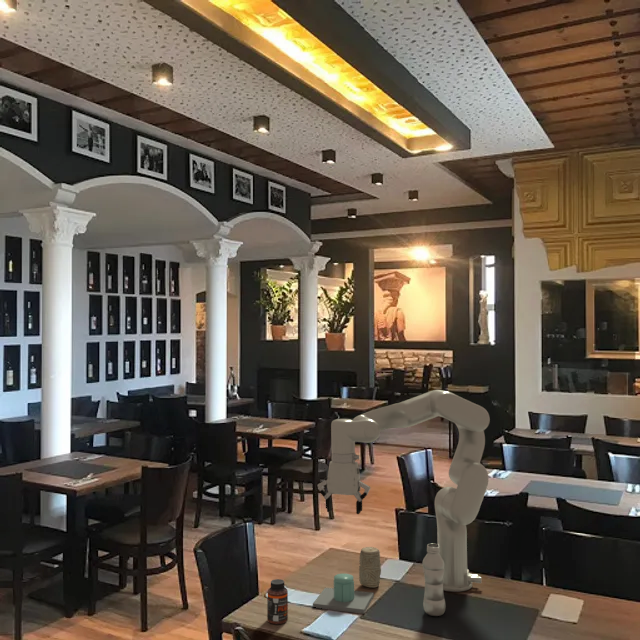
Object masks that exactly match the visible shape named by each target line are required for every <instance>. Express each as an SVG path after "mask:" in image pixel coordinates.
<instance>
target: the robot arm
mask: <svg viewBox="0 0 640 640" xmlns="http://www.w3.org/2000/svg"><path fill="white" fill-rule="evenodd" d="M437 417H440V418H444V419H446V420H448V421H450V422H452V423H454V424H455V425H456V427H457V429H458V431H457V432H458V434H459V435H458V436H459V438H458V444H457V446H456V449H455V452H454V455H453V457H452V460H451V463H450V466H449V468H448V469H449V470H448V477H449V480H450V481H452V482H453V483H454V484H455V485H456V488H455V487H451V486H446V487H443V488H441V489H440V490H438V492H436V495H435V498H434V511H435V518H436V526H437V527H436V529H437V534H436V535H437V539H436V540H437V544H438V545H439V546H440V553H439V555H440V556H441V557H442V559H443V561H444V574H443V591H446V592H451V593H452V592H456V593H457V592H458V593H460V592H466V591H468V590H470V589H472V587H473V583H475V584H482V577H481V576H479V575H478V574H472V573H470V570H469V569H468V551H467V550H468V549H467V548H468V546H467V545H468V543H467V542H468V541H467V538H468V536H467V535H468V533H467V525H470V524H471V523H472V522H473V521H475V519H476V518H477V516H478V514H479V511H480V508H481V505H482V504H483V503H482V502H483V501H484V497H485V495H486V492H487V489H488V485H489V472H488V471H487V470H488V469H486V467H485V466H484V465H483V464H482V463H481V460H482V457H483V454H484V450H485V447H486V446H485V445H486V436H485V430H486V429H487V428H488V427H489V425H490V422H491V421H490V420H491V419H490V414H489V412H488V411H487V409H486V408H484V407H483V406H481V405H479V404H476V402H475V403H474V402H472V401H470V400H468V399H465V398H463V397H461V396H459V395H457V394H455V393H453V392H451V391H447V390H442V389H434V390H431V391H427V392H425V393H422V394H419V395H417V396H414V397H411V398H409V399H406V400H402V401H401V402H397V403H393V404H389V405H386V406H382V407H377V408H376V409H372V410H369V411H367V412H364V413H361V414H359V415H357V416H355V417H354V418H352V419H350V418H337V419H334V420H332V421H331V424H330V428H331V429H330V431H331V432H330V434H331V443H330V444H331V445H330V446H331V460H330V461H329V464H328V465H329V466H328V472H327V479H325V480H324V481H322V482H319V483H318V484H317V488H318V490H319V493H320V494H321V495H322V496H323V498H324V500H325V509H326V513H330V512H331V511H332V509H333V506H332V505H333V503H332V501H333V498H332V495H345V496H354V497H355V499H356V503H355V509H356V511H355V513H356V514H357V515H360V513H361V512H362V511H363V500H364V499H365V498H366V497H367V496H368V495H369V492H370V490H371V486H369V485H368V484H366V483H364V482H362V481H361V477H360V476H361V475H360V474H361V473H360V468H359V463H358V460H360V454H356V443H357V442H358V443H366V444H367V443H368V444H369V443H372V442H375V441H376V440H378V439H379V437H380V436H381V431H384V430H388V429H396V428H398V429H405V428H410V427H413V426H416V425H419V424H421V423H424V422H426V421H430V420H432V419H434V418H437ZM356 460H357V461H356ZM325 486H327V491H326V489H325V488H324V487H325ZM361 488H362V489H364V491H363V493H361V492H360V491H361Z"/></svg>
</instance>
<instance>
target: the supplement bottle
mask: <svg viewBox="0 0 640 640" xmlns="http://www.w3.org/2000/svg"><path fill="white" fill-rule="evenodd" d="M285 586H286V585H285V581H284V579H280V578H279V579H277V578H276V579H272V580H271V581H270V587H269V588H268V589H267V593H266V594H267V595H266V596H267V601H266V603H267V608H266V609H267V622H268V623H269V624H272V625H276V626H277V625H283V624H285V623H287V622H288V619H289V618H288V617H289V605H288V604H289V598H288V597H289V595H288V594H289V593H288V592H289V591H288V589H287V588H286V587H285Z"/></svg>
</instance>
